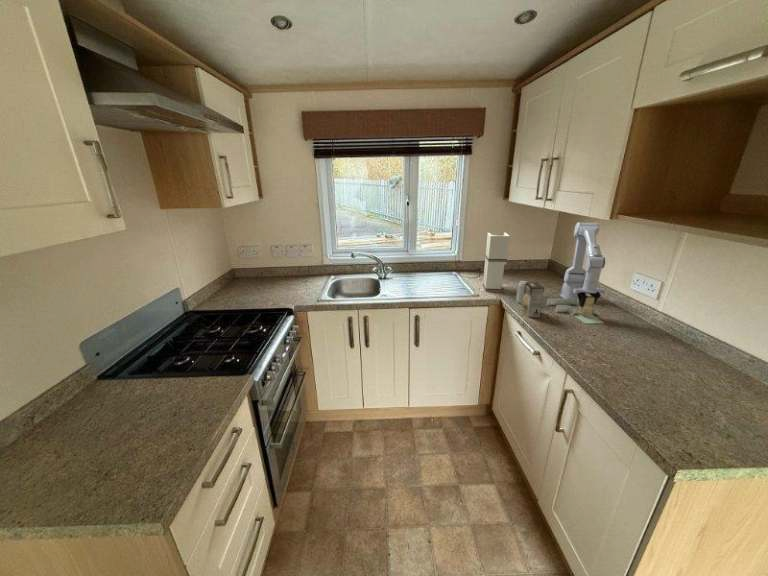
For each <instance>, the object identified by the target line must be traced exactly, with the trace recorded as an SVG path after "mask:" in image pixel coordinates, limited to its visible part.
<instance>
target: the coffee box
mask: <svg viewBox="0 0 768 576" xmlns="http://www.w3.org/2000/svg"><path fill="white" fill-rule="evenodd" d="M544 293H545V287H544V286H543V285H542V284H541V283H539V282H538V281H527V282H525V289H524V296H523V303H522V305H521V311H522V312H523V313H524V315H525V316H526V317H527V318H539V317H540V315H541V309H542V303H543V300H544V299H543V298H544Z"/></svg>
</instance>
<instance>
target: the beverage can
mask: <svg viewBox="0 0 768 576" xmlns="http://www.w3.org/2000/svg"><path fill="white" fill-rule="evenodd" d="M525 282H528V281H527V280H521V281H519V283H518V284H517V291H516V299H515V301H516V302H517V303H518V304H522V303H523V296H524V289H525Z"/></svg>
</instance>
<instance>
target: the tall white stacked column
mask: <svg viewBox="0 0 768 576" xmlns="http://www.w3.org/2000/svg"><path fill="white" fill-rule="evenodd" d="M486 235H487V236H486V249H485V259H484V268H483V270H484V271H483V280H482V287H483V290H484V291H485V292H488V293H490V292H491V293H504V288H503V282H504V281H503V279H504V272H505V265H507V262H508V255H509V248H510V247H509V246H510V240H511V239H510V238H511V237H510V235H509V234H508V233H507V232H503V235H496V234H495V235H494V234H492V233H490V232H487V234H486Z"/></svg>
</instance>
